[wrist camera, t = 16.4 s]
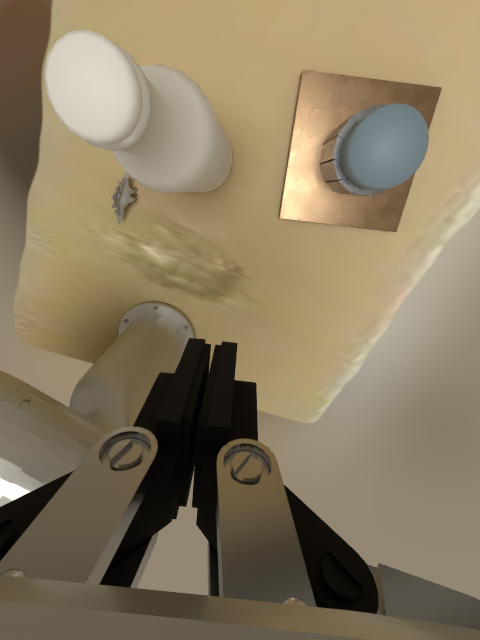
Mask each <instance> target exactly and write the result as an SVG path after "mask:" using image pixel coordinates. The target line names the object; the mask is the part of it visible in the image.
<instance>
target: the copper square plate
mask: <svg viewBox="0 0 480 640" xmlns="http://www.w3.org/2000/svg"><path fill="white" fill-rule="evenodd" d="M441 89H442V88H441V87H433V86H425V85H417V84H409V83H401V82H393V81H386V80H378V79H370V78H362V77H354V76H346V75H338V74H330V73H322V72H315V71H307V70H303V71H302V73H301V77H300V84H299V90H298V97H297V103H296V109H295V116H294V122H293V129H292V135H291V142H290V148H289V155H288V161H287V167H286V174H285V180H284V187H283V193H282V200H281V206H280V212H279V218H284V219H292V220H300V221H309V222H317V223H325V224H334V225H342V226H351V227H359V228H367V229H376V230H384V231H392V232H396V231H397V228H398V225H399V222H400V219H401V216H402V213H403V209H404V206H405V203H406V200H407V197H408V194H409V190H410V187H411V184H412V181H413V178H414V175H415V173H414V174H413V175H412V176H411V177H410V178H408V179H407V180H406V181H404V182H403V183H401V184H399V185H397V186H394V187H390V188H360V187H358V186H355V185H354V184H352V183H351V182H350V181H349V180H348V179H347V178H346V177H345V175H344V173H343V171H342V168H341V162H340V154H341V148H342V144H343V142H344V139H345V137H346V136H347V134H348V132H349V131H350V130H351V128H352V127H353V126H354V125H355V124H356V123H358V122H359V121H360V120H362V119H363V118H365V117H367V116H368V115H370V114H371V113H373V112H375V111H376V110H378V109H380V108H381V107H384V106H386V105H390V104H397V103H398V104H406V105H409V106H412V107H413V108H415V109H416V110H417V111H419V112H420V114H421V115H422V116H423V118H424V120H425V122H426V124H427V128H428V130H429V127H430V124H431V121H432V118H433V114H434V111H435V108H436V105H437V102H438V99H439V95H440V92H441Z"/></svg>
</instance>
